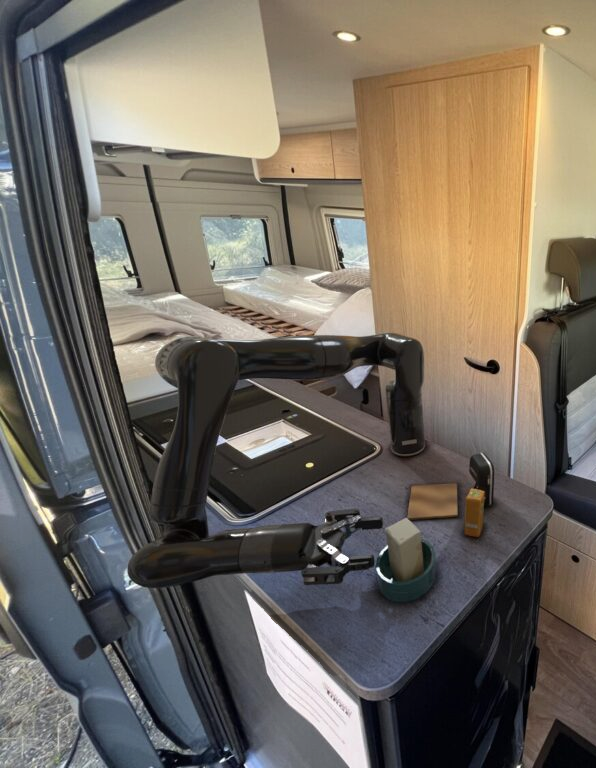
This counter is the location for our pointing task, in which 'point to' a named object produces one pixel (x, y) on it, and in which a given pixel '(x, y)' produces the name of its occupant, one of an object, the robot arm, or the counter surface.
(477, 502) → the supplement box
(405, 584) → the pot
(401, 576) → the box
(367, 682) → the counter surface
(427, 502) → the plate
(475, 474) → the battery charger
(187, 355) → the robot arm
